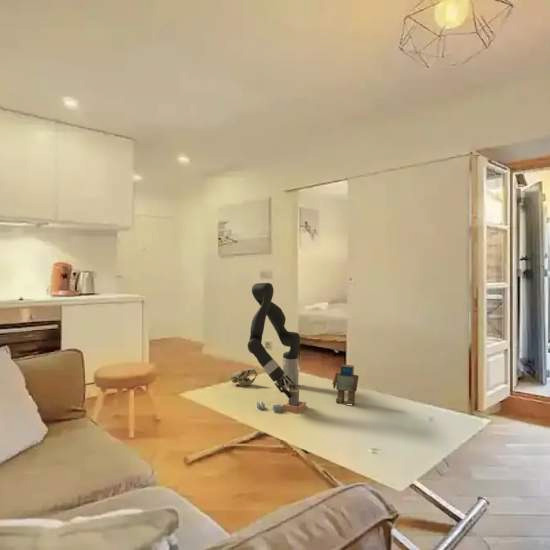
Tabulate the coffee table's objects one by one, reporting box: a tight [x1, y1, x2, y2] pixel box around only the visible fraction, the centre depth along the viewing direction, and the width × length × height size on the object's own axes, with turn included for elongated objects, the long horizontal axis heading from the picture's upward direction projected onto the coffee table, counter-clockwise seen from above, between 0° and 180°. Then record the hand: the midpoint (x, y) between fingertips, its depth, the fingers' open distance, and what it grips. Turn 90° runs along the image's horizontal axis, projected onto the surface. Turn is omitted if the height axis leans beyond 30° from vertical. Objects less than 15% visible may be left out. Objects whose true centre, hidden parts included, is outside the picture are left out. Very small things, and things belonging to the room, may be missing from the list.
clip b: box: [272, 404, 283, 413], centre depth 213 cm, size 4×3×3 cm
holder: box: [281, 399, 308, 414], centre depth 218 cm, size 11×11×3 cm
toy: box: [332, 364, 359, 404], centre depth 230 cm, size 13×10×20 cm
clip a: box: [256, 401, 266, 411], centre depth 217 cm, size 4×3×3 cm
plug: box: [288, 384, 300, 406], centre depth 218 cm, size 4×4×12 cm
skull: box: [230, 368, 258, 387], centre depth 260 cm, size 10×16×10 cm, turn 88°
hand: (293, 395), depth 218 cm, fingers open, 8 cm apart
